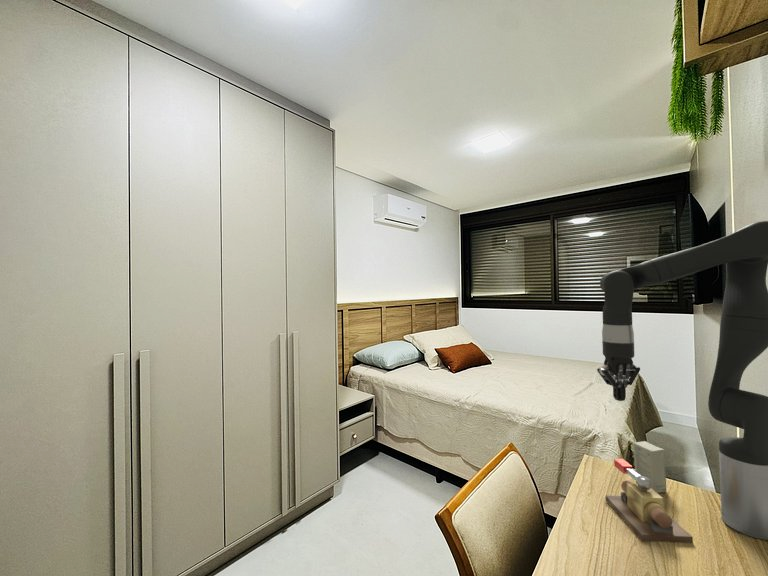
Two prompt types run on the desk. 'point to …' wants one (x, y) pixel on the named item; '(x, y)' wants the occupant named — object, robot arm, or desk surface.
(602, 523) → the desk surface
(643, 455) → the skincare box
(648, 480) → the valve lever
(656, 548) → the desk surface
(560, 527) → the desk surface
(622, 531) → the desk surface
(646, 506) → the valve rig
